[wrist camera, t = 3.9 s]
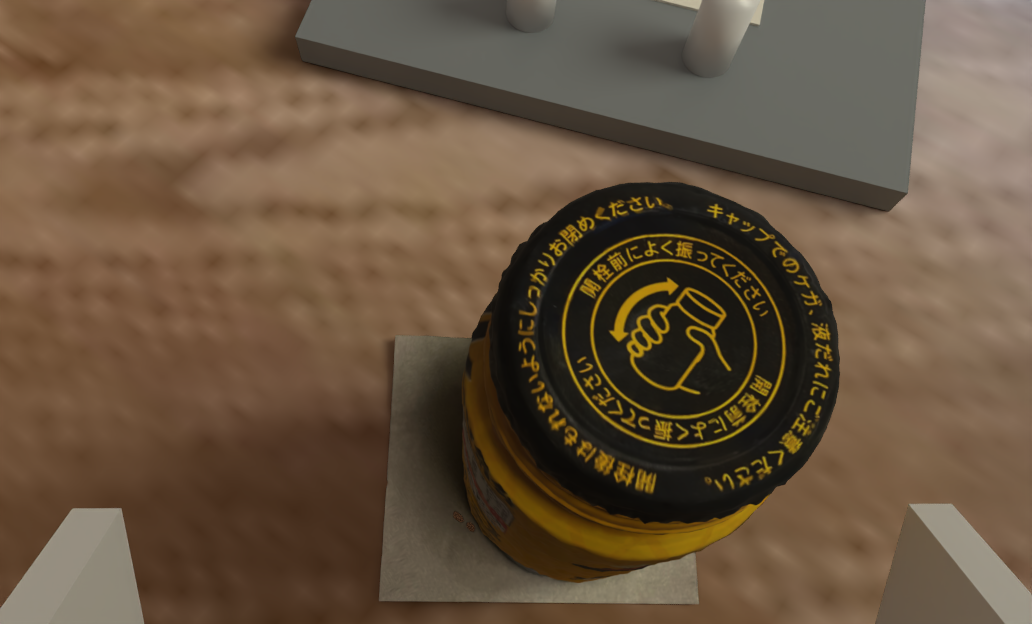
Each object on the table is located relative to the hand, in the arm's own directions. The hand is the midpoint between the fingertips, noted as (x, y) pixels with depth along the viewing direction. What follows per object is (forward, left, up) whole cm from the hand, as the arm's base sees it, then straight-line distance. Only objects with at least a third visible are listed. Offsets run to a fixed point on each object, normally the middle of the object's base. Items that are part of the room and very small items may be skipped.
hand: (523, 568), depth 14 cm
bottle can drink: (0, -3, -9) cm, 9 cm away
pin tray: (+1, -23, -8) cm, 25 cm away
